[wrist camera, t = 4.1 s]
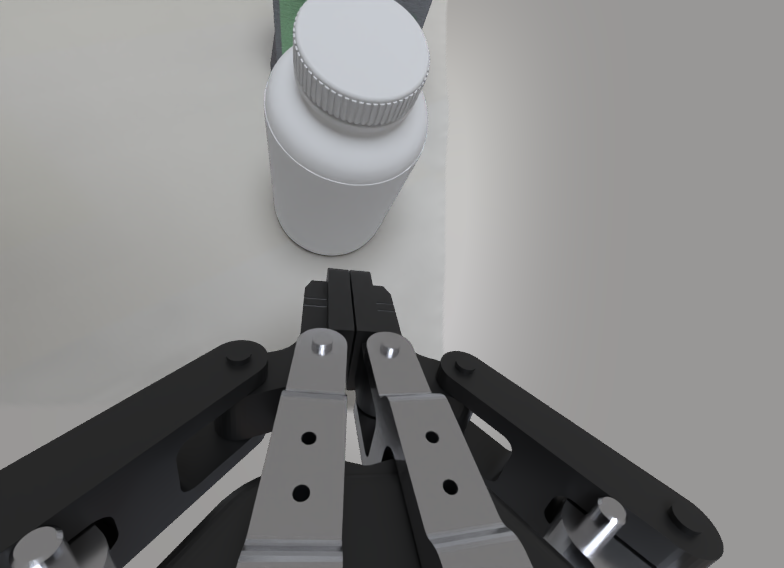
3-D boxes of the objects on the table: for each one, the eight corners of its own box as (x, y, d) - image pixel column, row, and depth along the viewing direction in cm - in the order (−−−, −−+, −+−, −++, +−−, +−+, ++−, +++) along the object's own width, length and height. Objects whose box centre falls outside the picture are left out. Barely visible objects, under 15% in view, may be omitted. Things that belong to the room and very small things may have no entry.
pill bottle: (365, 273, 27) (437, 162, 13) (258, 236, 26) (211, 69, 12) (392, 184, 30) (479, 10, 16) (296, 147, 28) (295, -81, 14)
